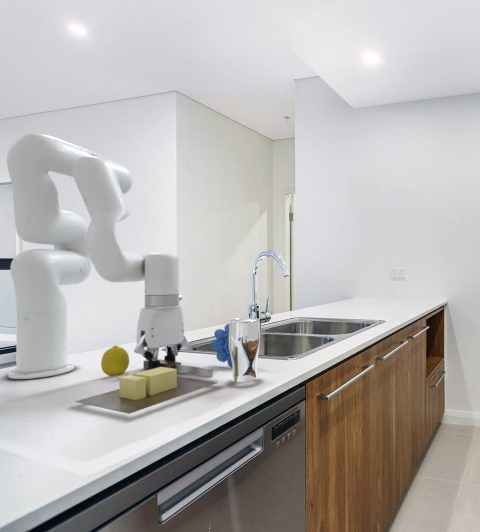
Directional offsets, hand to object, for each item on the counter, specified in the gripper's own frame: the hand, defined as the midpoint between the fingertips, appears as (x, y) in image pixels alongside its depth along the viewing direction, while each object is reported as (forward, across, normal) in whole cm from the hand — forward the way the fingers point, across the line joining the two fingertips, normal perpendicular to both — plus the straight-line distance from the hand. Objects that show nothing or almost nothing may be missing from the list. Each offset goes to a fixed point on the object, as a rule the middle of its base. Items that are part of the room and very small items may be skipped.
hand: (162, 373), depth 101 cm
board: (0, +13, +14) cm, 19 cm away
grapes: (0, -11, +13) cm, 17 cm away
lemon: (0, +7, -7) cm, 10 cm away
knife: (0, 0, +6) cm, 6 cm away
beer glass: (0, -2, +25) cm, 25 cm away
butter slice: (-1, +17, +14) cm, 22 cm away
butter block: (-1, +12, +14) cm, 18 cm away
